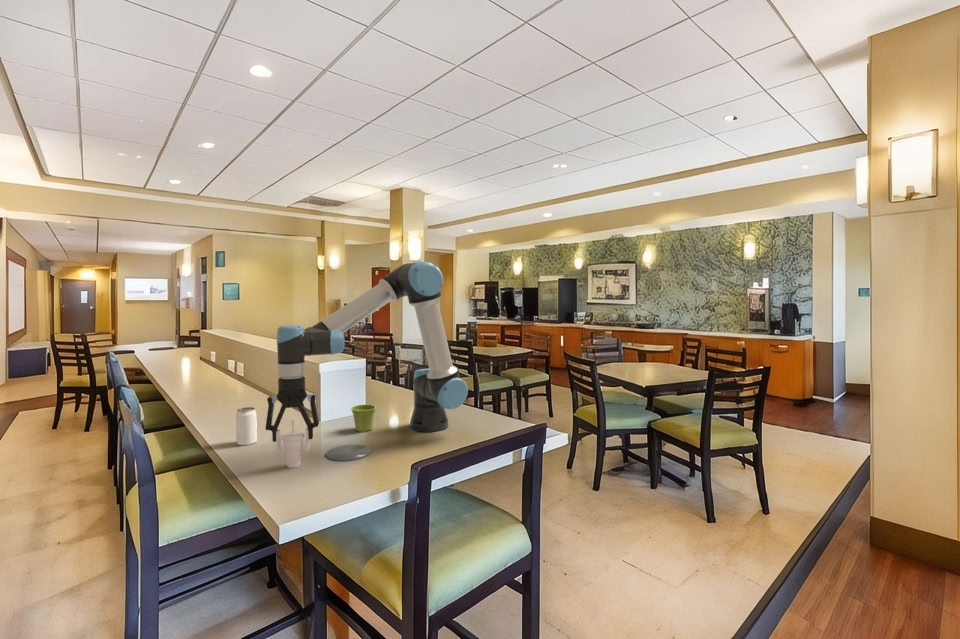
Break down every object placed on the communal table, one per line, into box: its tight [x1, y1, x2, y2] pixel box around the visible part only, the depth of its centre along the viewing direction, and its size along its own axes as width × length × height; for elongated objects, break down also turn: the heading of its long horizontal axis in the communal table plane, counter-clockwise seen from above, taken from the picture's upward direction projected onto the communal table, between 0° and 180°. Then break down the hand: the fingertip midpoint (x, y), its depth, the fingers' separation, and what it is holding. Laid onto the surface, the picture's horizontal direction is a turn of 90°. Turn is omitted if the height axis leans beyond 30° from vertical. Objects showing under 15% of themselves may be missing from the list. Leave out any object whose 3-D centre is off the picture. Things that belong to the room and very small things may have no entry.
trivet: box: [326, 444, 372, 462], centre depth 152 cm, size 14×14×1 cm
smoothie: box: [281, 420, 305, 469], centre depth 141 cm, size 6×6×14 cm
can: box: [235, 406, 258, 446], centre depth 162 cm, size 6×6×12 cm
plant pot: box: [350, 404, 377, 433], centre depth 178 cm, size 9×9×9 cm
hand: (293, 450), depth 141 cm, fingers open, 8 cm apart
